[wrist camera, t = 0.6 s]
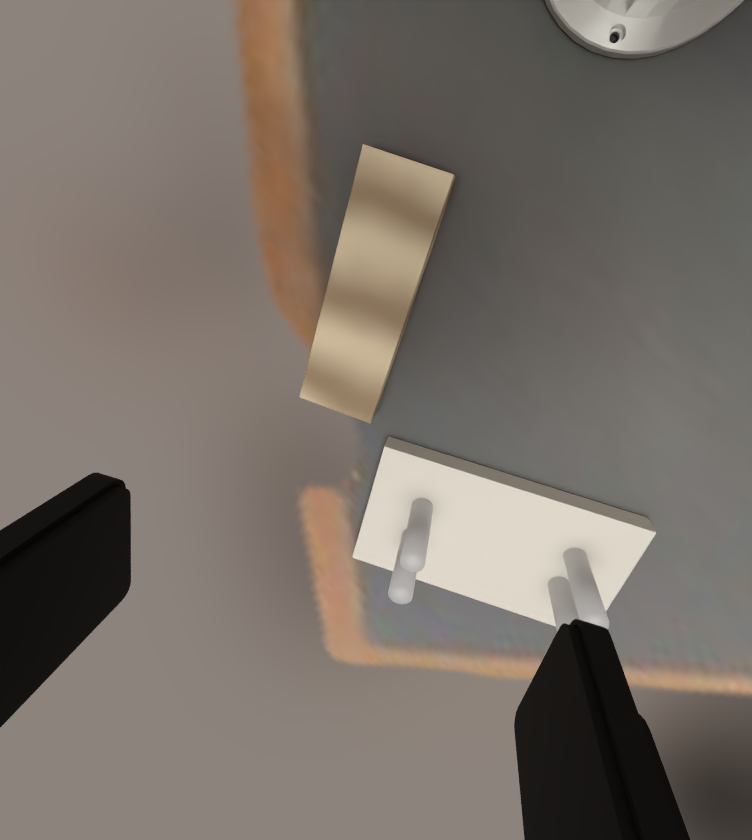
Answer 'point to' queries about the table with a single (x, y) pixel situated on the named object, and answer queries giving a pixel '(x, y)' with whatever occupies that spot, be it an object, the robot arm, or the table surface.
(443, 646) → the table surface
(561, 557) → the peg stand
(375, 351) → the shelf board
